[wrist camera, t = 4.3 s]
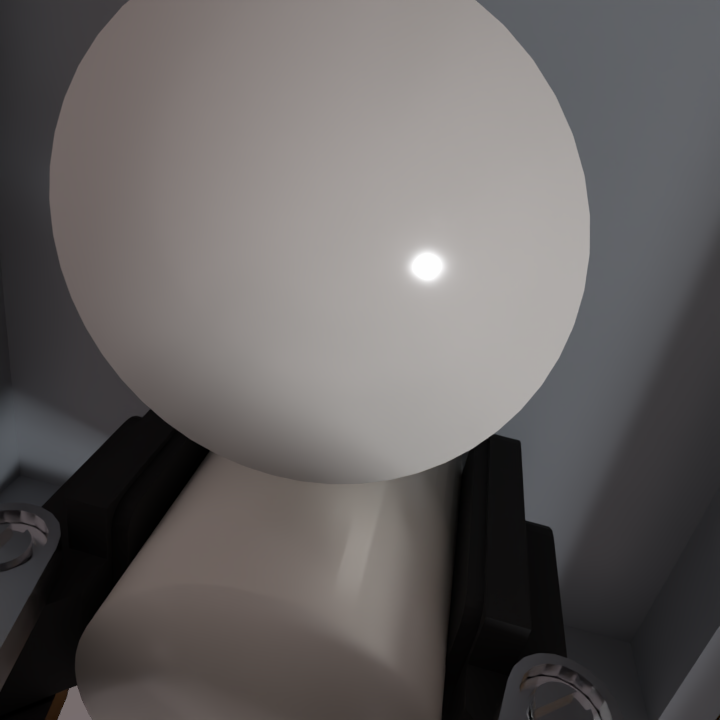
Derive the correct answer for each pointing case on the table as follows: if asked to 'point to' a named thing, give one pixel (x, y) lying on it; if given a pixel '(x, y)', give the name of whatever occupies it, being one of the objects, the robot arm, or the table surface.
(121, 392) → the parts tray
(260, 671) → the white tapered rounded piece
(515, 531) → the robot arm
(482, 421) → the white rounded cylinder
